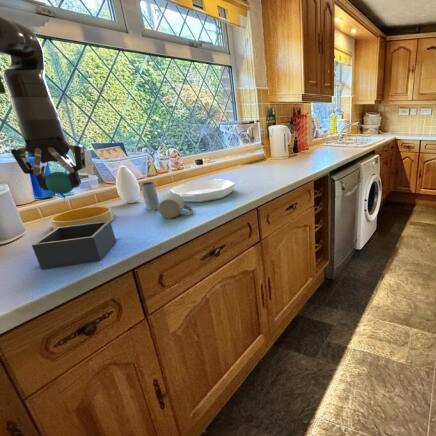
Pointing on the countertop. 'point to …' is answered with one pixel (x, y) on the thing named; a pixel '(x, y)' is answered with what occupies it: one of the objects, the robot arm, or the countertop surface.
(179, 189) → the white oval serving dish
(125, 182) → the sauce bottle
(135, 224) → the countertop surface
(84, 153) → the robot arm
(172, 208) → the ceramic mug
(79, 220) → the bowl
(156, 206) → the grey cylinder
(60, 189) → the toy ball
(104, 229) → the bin
